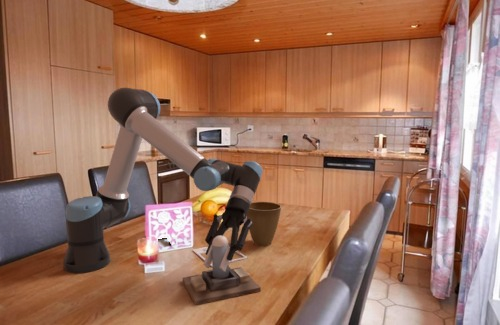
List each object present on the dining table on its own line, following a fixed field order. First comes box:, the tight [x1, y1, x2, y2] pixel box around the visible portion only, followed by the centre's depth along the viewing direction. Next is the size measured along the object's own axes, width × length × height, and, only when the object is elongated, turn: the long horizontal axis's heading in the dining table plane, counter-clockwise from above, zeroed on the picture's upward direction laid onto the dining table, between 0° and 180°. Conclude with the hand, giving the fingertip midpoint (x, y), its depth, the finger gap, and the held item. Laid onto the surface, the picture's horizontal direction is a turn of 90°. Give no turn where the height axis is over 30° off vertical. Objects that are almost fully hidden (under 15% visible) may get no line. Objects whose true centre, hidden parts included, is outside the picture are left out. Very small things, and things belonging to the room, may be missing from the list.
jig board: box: [181, 266, 262, 306], centre depth 110 cm, size 20×16×4 cm
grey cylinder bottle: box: [211, 235, 230, 279], centre depth 109 cm, size 5×5×12 cm
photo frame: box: [192, 246, 249, 268], centre depth 136 cm, size 15×1×18 cm
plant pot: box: [246, 201, 282, 247], centre depth 148 cm, size 15×15×16 cm
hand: (214, 267), depth 106 cm, fingers closed on grey cylinder bottle, 5 cm apart
